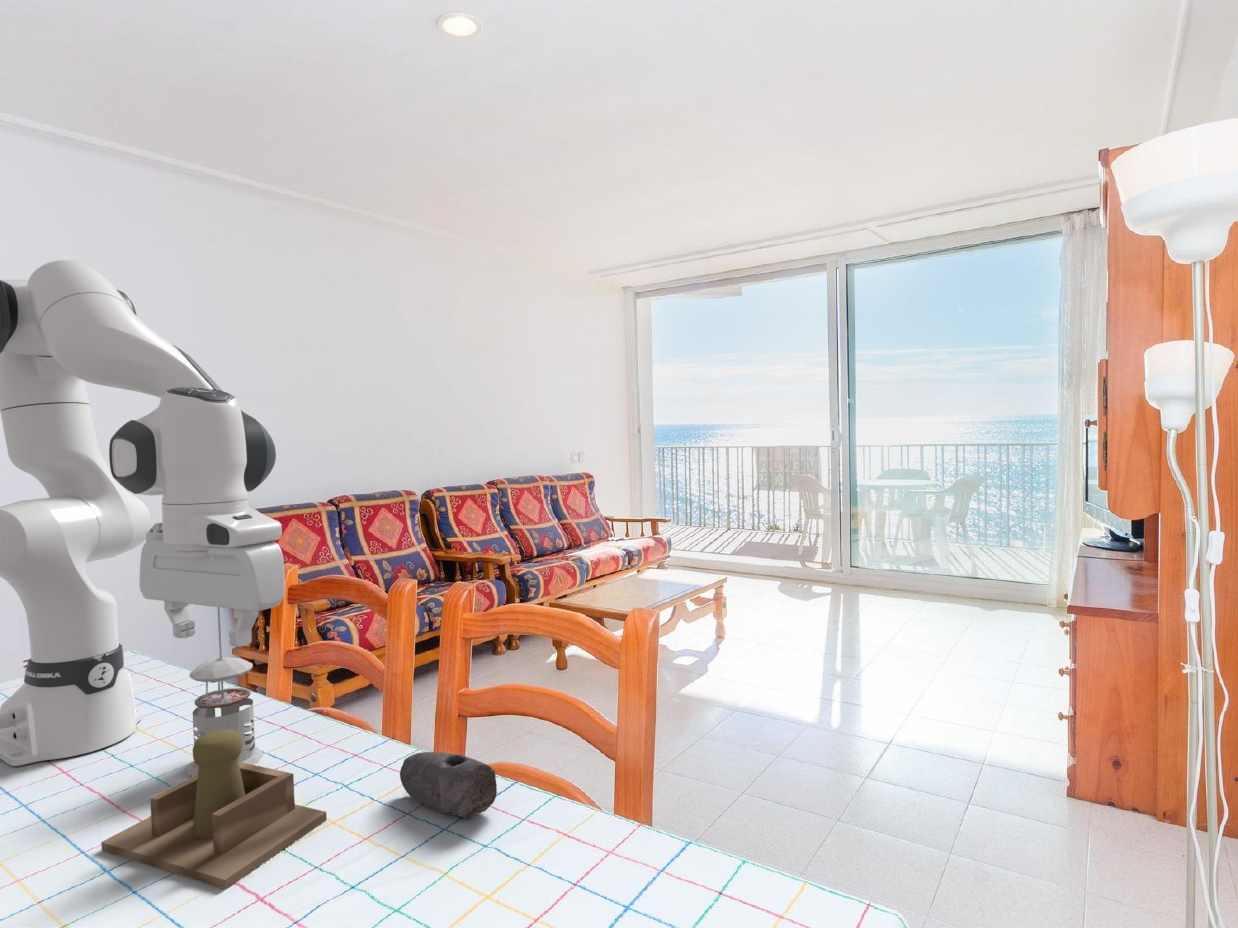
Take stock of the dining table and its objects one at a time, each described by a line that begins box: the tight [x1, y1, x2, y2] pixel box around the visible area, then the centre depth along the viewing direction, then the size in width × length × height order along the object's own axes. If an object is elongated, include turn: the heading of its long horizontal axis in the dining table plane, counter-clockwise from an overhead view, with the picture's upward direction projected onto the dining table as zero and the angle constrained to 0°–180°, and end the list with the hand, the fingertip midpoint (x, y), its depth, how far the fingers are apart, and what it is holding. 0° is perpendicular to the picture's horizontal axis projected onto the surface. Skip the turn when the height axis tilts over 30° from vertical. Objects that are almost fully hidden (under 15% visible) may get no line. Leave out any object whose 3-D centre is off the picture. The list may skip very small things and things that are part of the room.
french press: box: [187, 607, 264, 777], centre depth 103 cm, size 10×12×25 cm
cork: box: [192, 730, 245, 838], centre depth 84 cm, size 6×6×11 cm
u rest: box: [100, 762, 327, 890], centre depth 84 cm, size 20×14×6 cm
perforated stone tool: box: [399, 751, 498, 820], centre depth 89 cm, size 15×5×7 cm, turn 58°
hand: (211, 640), depth 83 cm, fingers open, 8 cm apart
